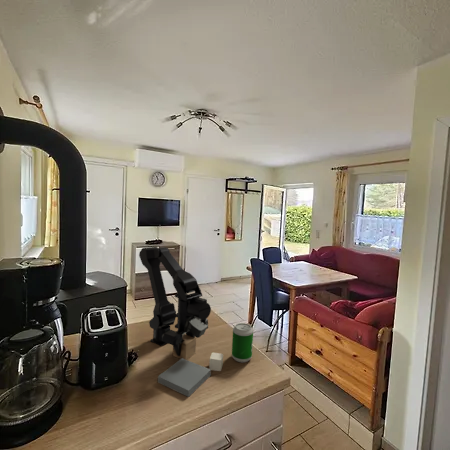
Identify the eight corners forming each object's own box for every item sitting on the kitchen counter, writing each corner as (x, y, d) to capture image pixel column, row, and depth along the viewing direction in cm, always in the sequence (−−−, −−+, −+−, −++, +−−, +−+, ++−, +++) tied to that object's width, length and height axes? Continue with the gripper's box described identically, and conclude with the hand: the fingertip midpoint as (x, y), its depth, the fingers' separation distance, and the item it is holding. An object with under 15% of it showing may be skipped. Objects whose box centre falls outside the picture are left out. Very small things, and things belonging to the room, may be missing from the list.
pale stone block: (209, 369, 92) (209, 358, 92) (211, 363, 96) (212, 352, 96) (220, 371, 91) (221, 360, 91) (222, 364, 95) (223, 353, 95)
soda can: (250, 365, 95) (252, 332, 95) (229, 362, 97) (231, 329, 96) (252, 354, 103) (254, 323, 102) (233, 351, 104) (234, 321, 103)
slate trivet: (157, 382, 84) (157, 376, 84) (182, 363, 95) (182, 358, 94) (188, 397, 78) (188, 390, 78) (210, 375, 89) (211, 369, 89)
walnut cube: (172, 355, 99) (173, 340, 99) (182, 348, 105) (183, 333, 104) (185, 360, 96) (186, 344, 96) (195, 353, 102) (196, 337, 101)
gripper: (187, 325, 87) (185, 372, 88) (217, 308, 103) (215, 347, 105) (161, 317, 93) (160, 361, 94) (193, 302, 109) (192, 339, 110)
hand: (184, 351), depth 100 cm, fingers closed on walnut cube, 6 cm apart
